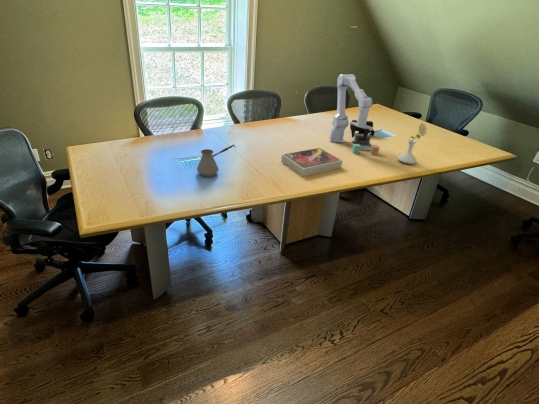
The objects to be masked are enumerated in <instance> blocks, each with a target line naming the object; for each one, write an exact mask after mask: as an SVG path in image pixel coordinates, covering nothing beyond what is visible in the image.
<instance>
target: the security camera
mask: <svg viewBox="0 0 539 405" xmlns="http://www.w3.org/2000/svg"><path fill="white" fill-rule="evenodd" d="M350 122H356V123H357V119H352V120H351V121H350ZM366 125H368V126H371V127H373V128H372V130H371V131H370V132H369V133H368V134H369V135H370V136H371V137H374V136H375V134H376V133H375V132H376V131H375V130H374V121H372V120H367V122H366ZM350 126H351V125H350V124H349V127H350ZM364 130H366V129H364V128H360V127H356V130H355V132H357V133H356V134H364Z"/></svg>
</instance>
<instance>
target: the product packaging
mask: <svg viewBox="0 0 539 405" xmlns="http://www.w3.org/2000/svg"><path fill="white" fill-rule="evenodd" d="M281 163H283V164H284V165H286V166H287V167H289V168H290V169H291V170H293V172H296V173H297V174H298V175H299V176H301V177H305V176H310V175H314V174H319V173H324V172H327V171H332V170H333V171H334V170H336V169H337V170H338V169H340V168H342V165H343V164H342V163H343V160H342V159H341V158H339V157H337V156H336V155H334V154H332V153H330V152H329V151H326V150H325V149H323V148H321V147H316V148H315V147H314V148H309V149H304V150H298V151H293V152H287V153H283V154H281Z"/></svg>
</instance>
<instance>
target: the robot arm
mask: <svg viewBox="0 0 539 405" xmlns="http://www.w3.org/2000/svg"><path fill="white" fill-rule="evenodd" d="M356 79H357V78H356V76H355V74H353V73H351V74H341V73H340V74H339V75H338V77H337V83H336V85H337V86H336V88H337V104H336V106H337V107H336V114H335V115H334V116H333V120H332V127H331V128H330V132H329V141H330V142H332V143H345V141H344V135H345V130H346V128H348V126H349V129H350V132H351V138H353V139H354V137H355V134H356V131H355V130H356V127H360V128H364V129H366V130H364V137H363V141H364V140H365V139H366V137H367V135H368V134H370V133H369V132H370V131H371V130H372V128H373V129H374V126H373V127H371V126H368V125H366V122H367V121H368V117H369V112H370V108H371V107H372V106H373V103H374V102H373V98H372V97H369V96H368V95H367V94H366V93H365V91H364V89H362V88H360V86H359V85H358V83H357V81H356ZM348 88H350V89H351V90H352V91H353V92H354V97H355V99H356V100H357V101H358V114H357V119H356V120H357V123H356V122H351V121H349V116H348V115H347V114H346V97H347V92H346V90H347V89H348ZM350 125H351V126H350Z"/></svg>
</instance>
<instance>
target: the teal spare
mask: <svg viewBox="0 0 539 405" xmlns="http://www.w3.org/2000/svg"><path fill="white" fill-rule="evenodd" d="M360 147H361V146H360V144H353V143H352V149H351V152H352V153H353V154H360V152H361V150H360Z"/></svg>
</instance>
